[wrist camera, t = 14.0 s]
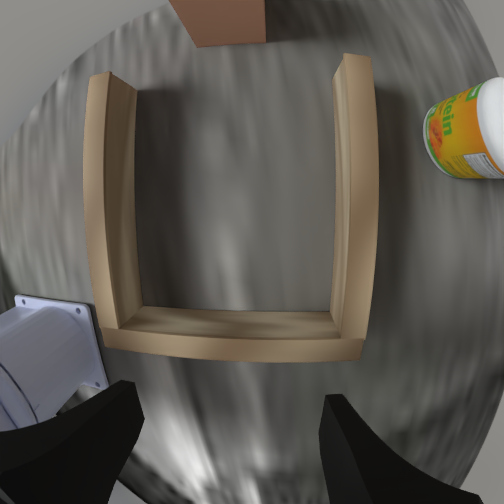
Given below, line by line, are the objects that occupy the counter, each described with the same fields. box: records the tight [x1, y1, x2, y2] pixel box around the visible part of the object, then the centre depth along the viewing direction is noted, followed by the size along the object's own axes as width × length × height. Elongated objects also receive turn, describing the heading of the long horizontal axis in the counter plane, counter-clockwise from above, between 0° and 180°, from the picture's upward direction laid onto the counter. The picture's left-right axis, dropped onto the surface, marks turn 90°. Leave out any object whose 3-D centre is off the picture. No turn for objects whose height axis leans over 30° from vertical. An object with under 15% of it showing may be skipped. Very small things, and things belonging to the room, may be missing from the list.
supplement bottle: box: [423, 77, 504, 179], centre depth 11 cm, size 5×5×10 cm
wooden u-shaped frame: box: [83, 53, 379, 362], centre depth 15 cm, size 15×16×4 cm
